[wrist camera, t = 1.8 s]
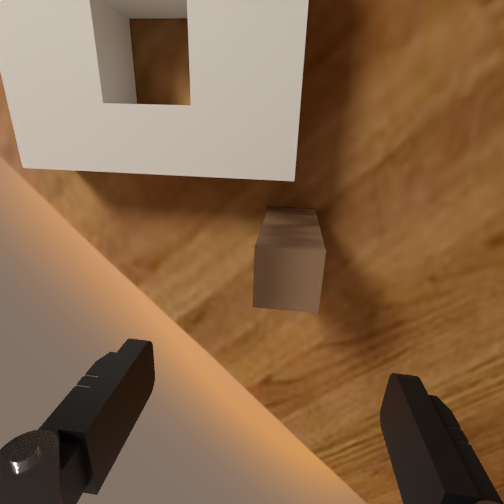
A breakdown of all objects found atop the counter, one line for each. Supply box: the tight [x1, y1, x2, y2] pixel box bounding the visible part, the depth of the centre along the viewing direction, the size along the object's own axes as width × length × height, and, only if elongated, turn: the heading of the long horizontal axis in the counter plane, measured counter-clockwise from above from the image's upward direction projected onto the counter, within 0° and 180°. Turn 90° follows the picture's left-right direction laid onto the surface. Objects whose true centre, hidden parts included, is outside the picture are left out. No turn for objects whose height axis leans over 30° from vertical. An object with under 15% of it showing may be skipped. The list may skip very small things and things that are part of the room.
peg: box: [253, 206, 326, 313], centre depth 23 cm, size 4×4×10 cm
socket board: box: [0, 0, 309, 181], centre depth 22 cm, size 20×15×5 cm
